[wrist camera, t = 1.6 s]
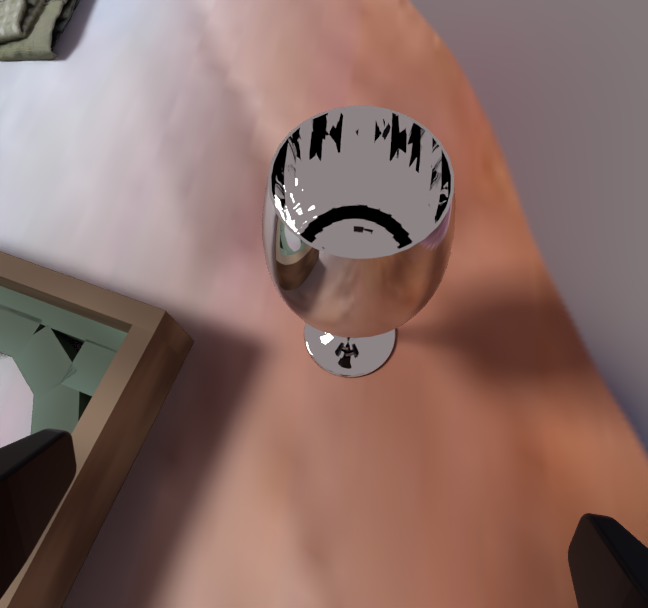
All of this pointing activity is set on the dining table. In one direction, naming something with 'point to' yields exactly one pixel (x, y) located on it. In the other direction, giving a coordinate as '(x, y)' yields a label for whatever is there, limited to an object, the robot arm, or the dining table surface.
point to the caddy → (83, 401)
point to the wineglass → (357, 230)
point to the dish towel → (32, 27)
